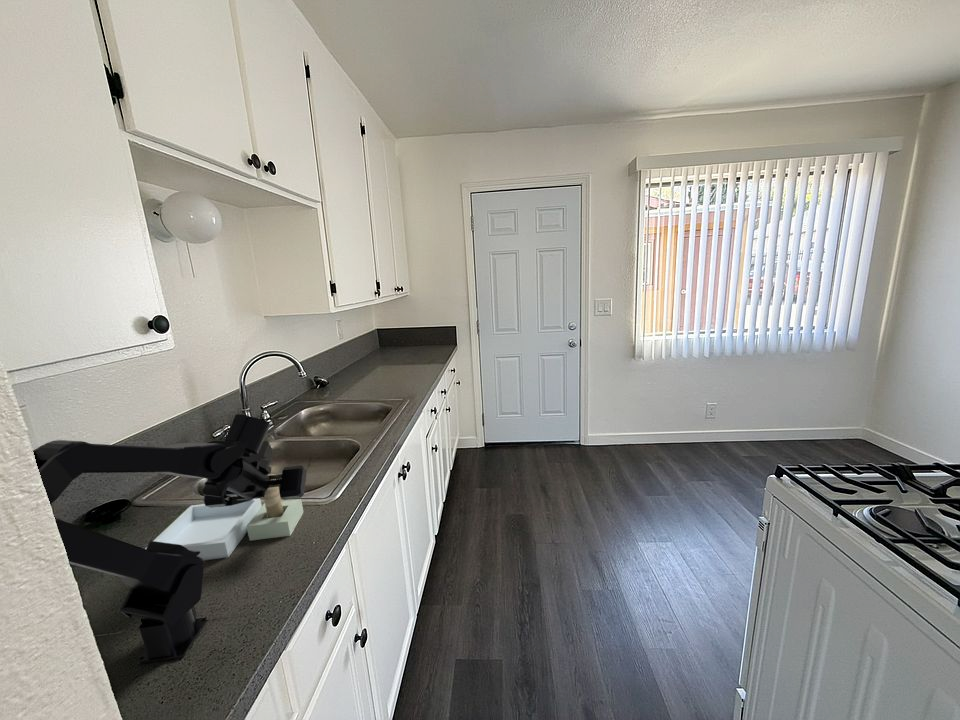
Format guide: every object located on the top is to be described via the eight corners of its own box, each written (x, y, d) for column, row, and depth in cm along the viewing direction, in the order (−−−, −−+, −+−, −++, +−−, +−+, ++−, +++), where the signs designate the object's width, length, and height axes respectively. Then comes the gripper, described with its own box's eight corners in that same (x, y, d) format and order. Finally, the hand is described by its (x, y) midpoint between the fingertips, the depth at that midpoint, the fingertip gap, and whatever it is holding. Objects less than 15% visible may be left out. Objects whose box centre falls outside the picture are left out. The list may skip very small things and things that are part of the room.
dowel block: (290, 535, 82) (287, 521, 82) (249, 540, 82) (246, 526, 81) (303, 512, 91) (301, 499, 90) (266, 516, 90) (263, 503, 89)
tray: (228, 557, 77) (224, 542, 76) (145, 567, 76) (141, 552, 75) (262, 510, 92) (260, 497, 91) (194, 518, 91) (190, 505, 90)
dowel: (282, 529, 85) (272, 480, 82) (267, 531, 84) (257, 482, 82) (288, 520, 88) (278, 473, 85) (273, 522, 88) (263, 474, 85)
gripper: (295, 431, 77) (320, 455, 90) (198, 440, 75) (238, 464, 89) (287, 487, 71) (315, 504, 85) (181, 499, 70) (227, 514, 83)
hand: (274, 495), depth 85 cm, fingers open, 9 cm apart
